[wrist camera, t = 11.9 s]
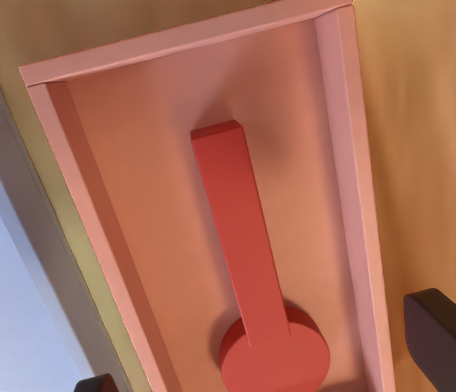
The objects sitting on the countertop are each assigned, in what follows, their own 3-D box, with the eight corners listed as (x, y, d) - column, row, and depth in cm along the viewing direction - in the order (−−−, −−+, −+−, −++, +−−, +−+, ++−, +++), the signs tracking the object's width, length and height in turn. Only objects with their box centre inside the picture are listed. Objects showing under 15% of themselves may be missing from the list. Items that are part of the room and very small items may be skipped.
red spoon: (148, 141, 13) (143, 151, 12) (275, 107, 14) (289, 112, 12) (232, 401, 18) (238, 435, 16) (328, 373, 18) (343, 404, 16)
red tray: (47, 68, 13) (16, 66, 10) (321, -2, 13) (352, -19, 11) (192, 440, 19) (193, 491, 17) (374, 386, 19) (400, 429, 17)
